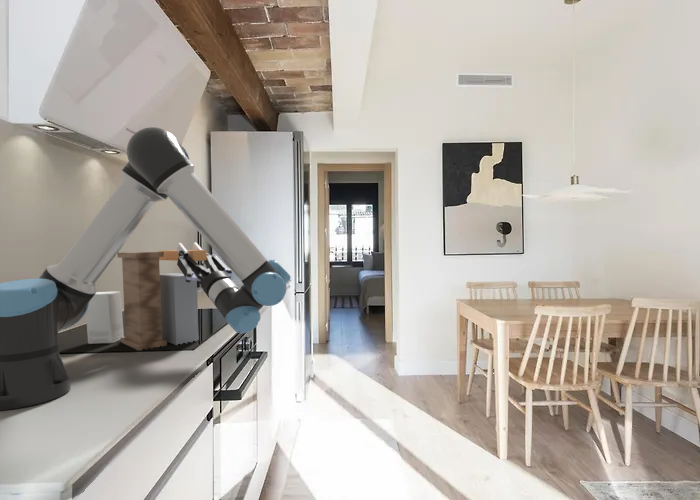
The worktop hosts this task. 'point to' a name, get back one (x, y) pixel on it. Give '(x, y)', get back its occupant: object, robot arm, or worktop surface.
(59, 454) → the worktop surface
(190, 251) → the orange blank
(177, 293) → the slate block
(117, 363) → the worktop surface
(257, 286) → the robot arm
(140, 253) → the walnut shelf stand
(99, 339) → the skincare box
